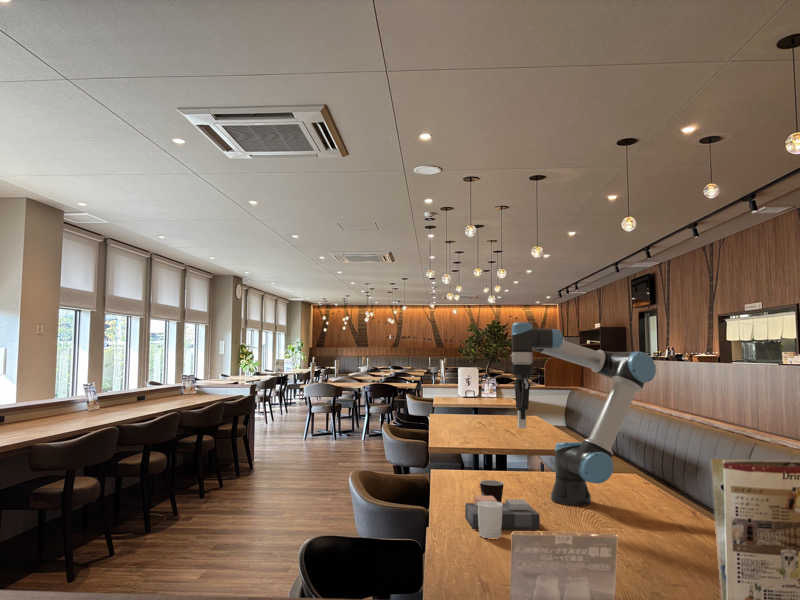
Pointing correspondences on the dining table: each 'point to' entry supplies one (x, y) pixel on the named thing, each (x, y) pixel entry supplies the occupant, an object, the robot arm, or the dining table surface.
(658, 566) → the dining table surface
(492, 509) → the white cup
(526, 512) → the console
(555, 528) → the dining table surface
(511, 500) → the light grey cube
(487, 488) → the coffee mug
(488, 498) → the salmon orange cube
